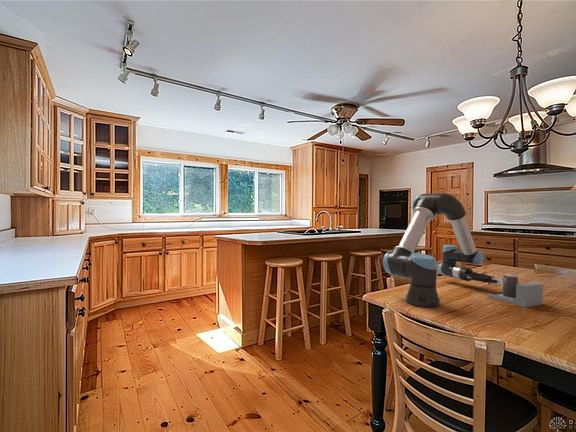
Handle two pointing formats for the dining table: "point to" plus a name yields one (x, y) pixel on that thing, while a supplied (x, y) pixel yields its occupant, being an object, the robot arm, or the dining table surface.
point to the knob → (509, 286)
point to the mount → (525, 295)
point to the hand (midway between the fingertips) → (504, 283)
